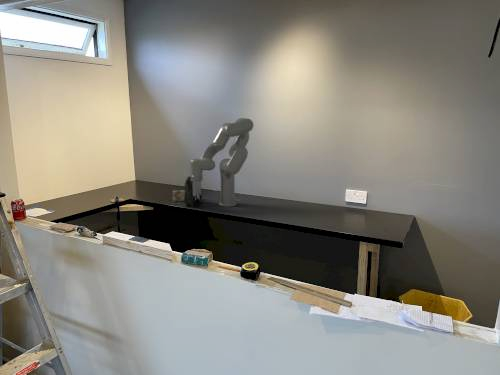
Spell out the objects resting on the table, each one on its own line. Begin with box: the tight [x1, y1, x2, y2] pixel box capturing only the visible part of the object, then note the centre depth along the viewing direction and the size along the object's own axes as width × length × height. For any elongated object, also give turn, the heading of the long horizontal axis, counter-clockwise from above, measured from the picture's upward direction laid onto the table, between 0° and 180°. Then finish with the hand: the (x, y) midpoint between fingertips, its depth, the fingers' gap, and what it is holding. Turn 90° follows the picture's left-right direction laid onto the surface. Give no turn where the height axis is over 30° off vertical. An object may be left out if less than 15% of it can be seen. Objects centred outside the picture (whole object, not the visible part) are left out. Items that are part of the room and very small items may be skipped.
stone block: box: [184, 175, 203, 208], centre depth 237 cm, size 18×9×20 cm, turn 164°
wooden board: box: [172, 189, 203, 202], centre depth 248 cm, size 20×2×7 cm, turn 104°
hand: (197, 205), depth 230 cm, fingers closed
